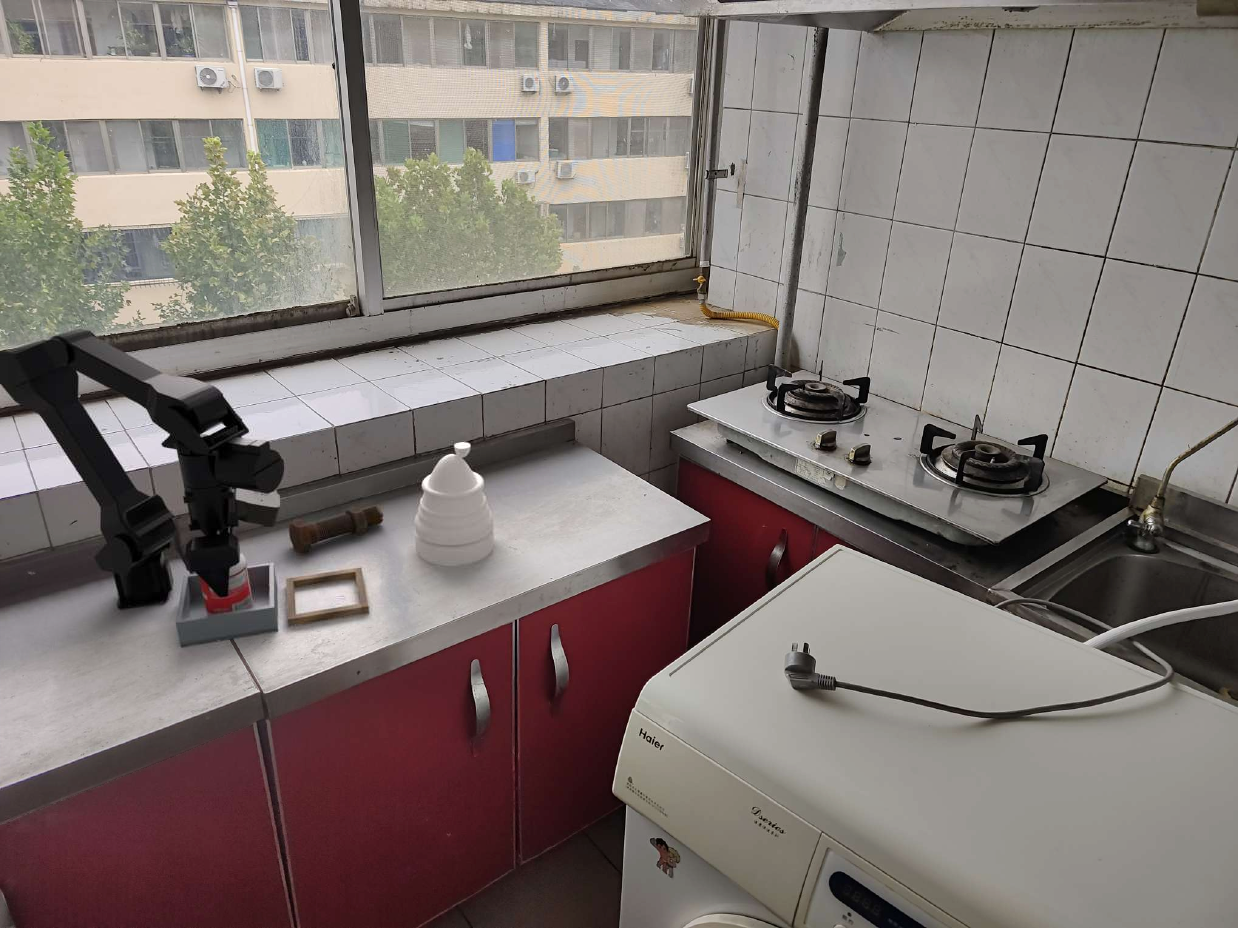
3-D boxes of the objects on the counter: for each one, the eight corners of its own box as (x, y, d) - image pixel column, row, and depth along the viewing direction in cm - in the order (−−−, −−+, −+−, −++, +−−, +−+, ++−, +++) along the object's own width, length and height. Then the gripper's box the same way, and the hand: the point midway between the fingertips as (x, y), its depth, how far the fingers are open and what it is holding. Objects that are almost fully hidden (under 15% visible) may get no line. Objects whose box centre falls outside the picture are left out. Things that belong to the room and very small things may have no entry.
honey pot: (474, 520, 147) (471, 426, 139) (506, 553, 137) (505, 454, 130) (404, 537, 140) (397, 440, 133) (433, 573, 131) (427, 471, 123)
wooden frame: (288, 626, 117) (287, 619, 116) (287, 585, 126) (286, 578, 125) (369, 612, 121) (368, 606, 120) (362, 573, 130) (361, 567, 129)
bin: (181, 647, 112) (175, 622, 110) (188, 598, 122) (183, 575, 120) (278, 630, 116) (274, 607, 114) (277, 584, 126) (273, 562, 124)
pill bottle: (214, 600, 121) (201, 534, 116) (258, 597, 122) (247, 532, 117) (201, 625, 115) (187, 557, 111) (248, 622, 116) (236, 555, 111)
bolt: (383, 534, 145) (299, 560, 135) (370, 512, 147) (286, 536, 137) (390, 515, 141) (304, 540, 131) (377, 493, 143) (291, 516, 133)
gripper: (272, 502, 105) (287, 605, 111) (272, 445, 120) (285, 538, 127) (174, 514, 101) (196, 620, 107) (187, 453, 117) (205, 549, 123)
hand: (225, 578), depth 116 cm, fingers open, 9 cm apart
